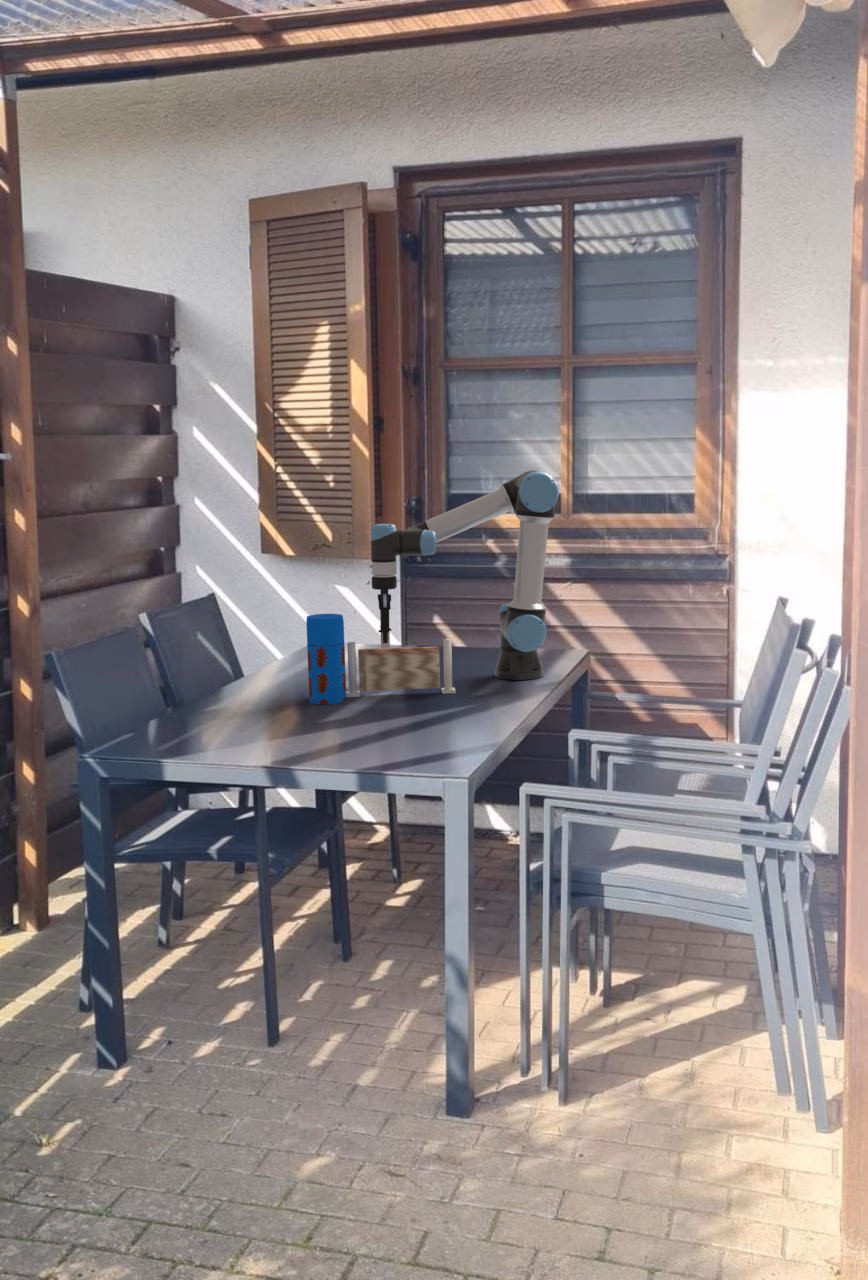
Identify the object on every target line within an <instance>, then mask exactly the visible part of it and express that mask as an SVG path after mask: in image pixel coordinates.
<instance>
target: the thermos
mask: <svg viewBox="0 0 868 1280" xmlns="http://www.w3.org/2000/svg"><path fill="white" fill-rule="evenodd" d="M344 623H345V621H344V617H343V614H338V613H317V614H311V615H308V616H306V623H305V624H306V643H307V644H306V646H307V647H306V648H307V671H308V673H307V674H308V692H309V702H310V703H312V704H316V705H334V704H341V703H344V702H345V701H347V697H346V691H347V682H346V681H347V679H346V677H347V676H346V653H345V652H346V649H345V625H344Z"/></svg>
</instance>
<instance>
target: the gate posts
mask: <svg viewBox="0 0 868 1280" xmlns="http://www.w3.org/2000/svg"><path fill="white" fill-rule="evenodd" d="M442 641H443V643H442V645H443V681H444V683H443V684H444V687H440V688H441V694H442V695H445V694H456V693H457V691H456V687H455V686H454V687H453V661H452V660H453V656H452V655H453V654H452V652H453V651H452V639H451V638H443V640H442ZM346 646H347V647H346V648H347V649H346V650H347V671H348V673H347V675H348V691H347V690H346V698H357V697H359V698H360V697H361V693H360V692H361V691H360V690H358V686H357V685H358V680H357V656H356V655H357V654H356V653H357V651H356V641H347V644H346Z"/></svg>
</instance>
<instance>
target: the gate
mask: <svg viewBox="0 0 868 1280" xmlns="http://www.w3.org/2000/svg"><path fill="white" fill-rule="evenodd" d="M357 651H358V652H357V653H358V673H359V674H358V676H359V680H358V681H359V683H358V684H359V691H360V692H368V691H369V692H370V691H392V690H393V691H394V690H395V691H396V690H418V689H419V690H420V689H423V690H425V689H440V688H441V665H440V646H438V645H437V646H416V647H415V646H414V647H411V646H410V647H390V648H381V647H379V648H358V649H357Z"/></svg>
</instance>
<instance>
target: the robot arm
mask: <svg viewBox="0 0 868 1280" xmlns="http://www.w3.org/2000/svg"><path fill="white" fill-rule="evenodd" d="M559 496H560V490H559V486H558V483H557V481H556V480H555V478H554V477H553V476H552V475H550V474H549V473H547V472H544V471H540V470H539V471H538V470H527V471H525V472H523V473H521V474H519V475H517V476H516V477H514V478H513V479H511V480H509V481H507V482H504V483H502V484H500V486H499V489H496V490H494V491H492V492H489V493H486V494H485V495H483V496H480V497H478V498H476V499H474V500H471V501H469V502H466V503H464V504H462V505H460V506H457V507H455V508H452V509H450V510H448V511H445V512H443V513H441V514H439V515H437V516H434V517H431V518H429V519H427V520H425V521H423V522H420V523H418V524H416V525H411V526H408V527H407V528H405V529H404V530H397V526H396V525H395V524H394V523H376V524H373V525H372V526H371V529H370V550H371V551H370V557H371V564H369V568H370V569H371V574H372V577H371V589H373V590H377V591H378V590H379V591H380V592H379V594H377V600H378V609H379V610H380V617H379V618H380V624H379V625H380V626H379V628H380V629H378V633H380V648H391V641H390V638H391V636H390V635H391V633H390V632H392V628H390V610H391V602H392V595H391V593H389V590H395V589H396V588H397V587H398V585H397V584H398V583H397V581H398V578H397V576H396V575H397V574H398V570H397V556H400V557H401V556H423V557H426V556H433V555H435V554H436V550H437V543H438V542H441V541H443V540H447V539H448V538H450V537H453V536H455V535H458V534H460V533H462V532H464V531H467V530H470V529H471V528H474V527H477V526H478V525H481V524H483V523H486V522H488V521H491V520H493V519H495V518H498V517H500V516H503V515H505V514H507V513H511V514H514V513H515V516H516V517H517V519H518V521H519V528H518V529H519V530H518V538H517V539H518V540H517V541H518V542H517V553H516V565H515V574H514V575H515V577H514V587H513V589H514V590H513V599H512V600H511V601H510V602H508V603H507V604H502V605H500V607H499V613H498V616H499V635H500V636H499V637H500V641H499V643H500V647H499V648H500V651H499V656H498V659H497V662H496V666H495V671H494V672H495V675H494V676H495V677H496V678H498V679H502V680H510V681H511V680H512V681H514V680H515V681H521V680H522V681H524V680H526V681H527V680H534V679H535V680H536V679H539V678H542V677H543V676H544V667H543V663H542V661H541V657H540V656H539V651H538V649H539V648H540V647H541V646H542V645H543V644H544V643H545V640H546V638H547V627H546V624H545V622H546V614H547V613H546V611H547V607H546V606H545V604H544V603H543V602H542V600H543V588H544V579H545V578H544V577H545V568H546V567H545V566H546V554H547V544H548V543H547V542H548V534H549V533H548V532H549V525H550V522H552V521H553V520H554V519H555V511H556V504H557V503H558V499H559Z"/></svg>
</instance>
